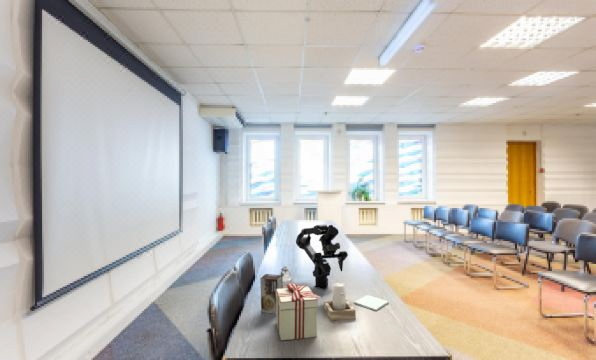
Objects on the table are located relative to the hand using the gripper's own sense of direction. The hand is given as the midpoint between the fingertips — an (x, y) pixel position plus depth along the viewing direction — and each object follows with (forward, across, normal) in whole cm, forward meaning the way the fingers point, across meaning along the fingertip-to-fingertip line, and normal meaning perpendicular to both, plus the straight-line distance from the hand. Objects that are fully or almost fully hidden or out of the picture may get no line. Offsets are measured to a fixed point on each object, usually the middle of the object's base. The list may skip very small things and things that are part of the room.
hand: (333, 271), depth 150 cm
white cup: (+6, -24, +16) cm, 29 cm away
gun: (-15, -18, +41) cm, 47 cm away
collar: (+22, -4, -4) cm, 22 cm away
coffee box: (+14, -33, +5) cm, 36 cm away
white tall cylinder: (+22, -4, -5) cm, 23 cm away
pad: (+18, +16, 0) cm, 24 cm away
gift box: (+27, -25, -10) cm, 38 cm away
